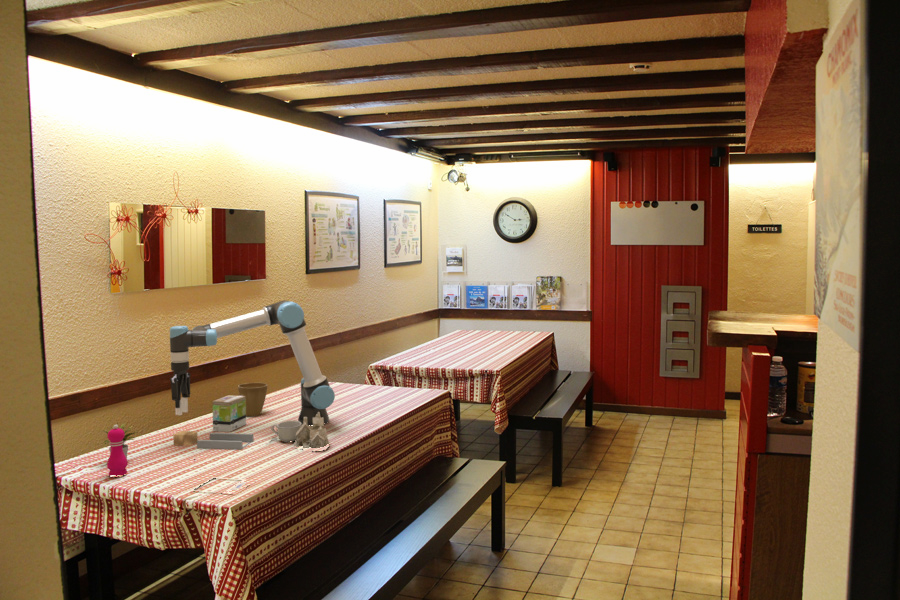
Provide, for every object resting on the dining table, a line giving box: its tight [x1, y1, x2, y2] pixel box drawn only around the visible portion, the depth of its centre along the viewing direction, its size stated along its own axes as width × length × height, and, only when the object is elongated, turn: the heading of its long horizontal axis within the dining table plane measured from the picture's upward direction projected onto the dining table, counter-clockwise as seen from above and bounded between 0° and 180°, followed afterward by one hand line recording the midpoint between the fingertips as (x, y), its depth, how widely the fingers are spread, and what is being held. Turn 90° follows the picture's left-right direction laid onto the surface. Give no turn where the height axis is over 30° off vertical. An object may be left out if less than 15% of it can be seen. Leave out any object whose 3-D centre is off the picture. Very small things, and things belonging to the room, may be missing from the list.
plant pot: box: [237, 382, 268, 417], centre depth 357 cm, size 15×15×16 cm
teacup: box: [270, 420, 302, 443], centre depth 309 cm, size 14×11×8 cm
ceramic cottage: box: [293, 412, 331, 448], centre depth 297 cm, size 16×16×15 cm
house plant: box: [100, 422, 139, 459], centre depth 278 cm, size 14×14×16 cm
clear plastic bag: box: [190, 476, 247, 493], centre depth 249 cm, size 15×1×18 cm
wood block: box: [172, 430, 198, 446], centre depth 301 cm, size 6×6×8 cm
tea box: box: [212, 394, 247, 433], centre depth 332 cm, size 15×10×15 cm
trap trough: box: [196, 432, 255, 450], centre depth 299 cm, size 20×13×4 cm, turn 83°
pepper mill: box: [106, 423, 129, 476], centre depth 262 cm, size 7×7×20 cm
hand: (181, 413), depth 300 cm, fingers open, 4 cm apart
